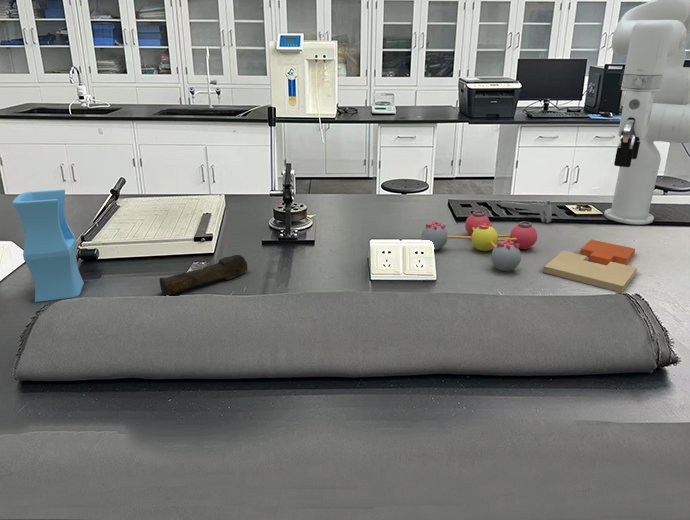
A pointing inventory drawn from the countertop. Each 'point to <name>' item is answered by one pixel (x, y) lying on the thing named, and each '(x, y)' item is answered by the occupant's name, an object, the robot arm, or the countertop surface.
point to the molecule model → (488, 239)
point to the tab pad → (607, 252)
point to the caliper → (533, 208)
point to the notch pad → (590, 271)
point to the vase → (49, 245)
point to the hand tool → (204, 275)
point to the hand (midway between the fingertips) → (625, 162)
